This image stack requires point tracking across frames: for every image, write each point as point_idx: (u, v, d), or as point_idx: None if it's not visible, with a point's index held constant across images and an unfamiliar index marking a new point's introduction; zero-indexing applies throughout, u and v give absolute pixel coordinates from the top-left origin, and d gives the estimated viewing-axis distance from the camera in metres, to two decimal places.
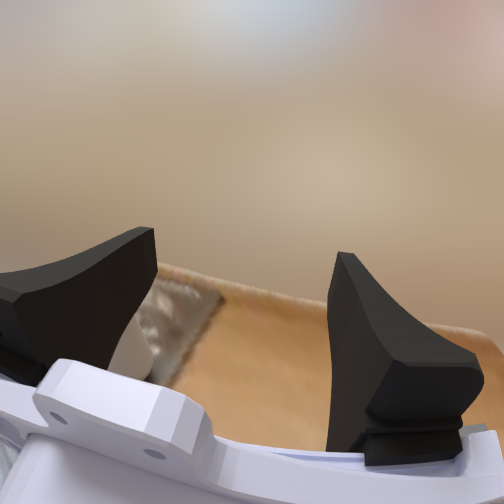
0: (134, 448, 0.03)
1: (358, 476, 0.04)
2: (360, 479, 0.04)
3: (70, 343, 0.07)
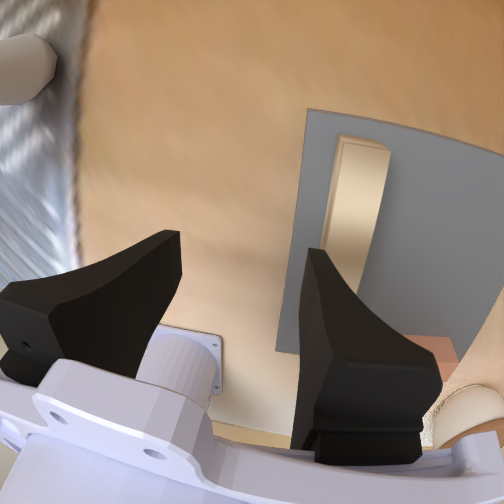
0: (134, 448, 0.03)
1: (358, 476, 0.04)
2: (360, 479, 0.04)
3: (102, 353, 0.07)
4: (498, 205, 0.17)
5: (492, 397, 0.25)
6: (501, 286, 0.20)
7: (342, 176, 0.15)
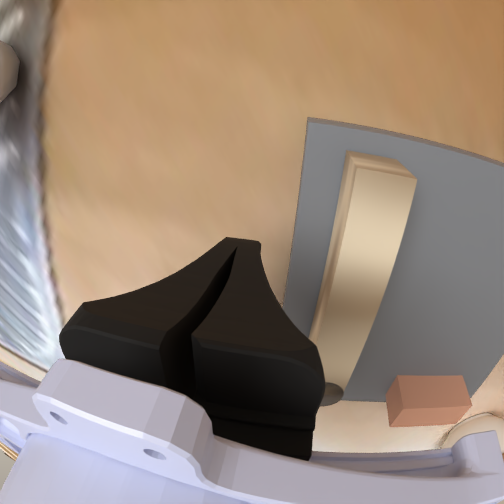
0: (134, 448, 0.03)
1: (358, 476, 0.04)
2: (360, 479, 0.04)
3: (190, 376, 0.07)
4: None
5: (501, 428, 0.21)
6: None
7: (353, 211, 0.12)
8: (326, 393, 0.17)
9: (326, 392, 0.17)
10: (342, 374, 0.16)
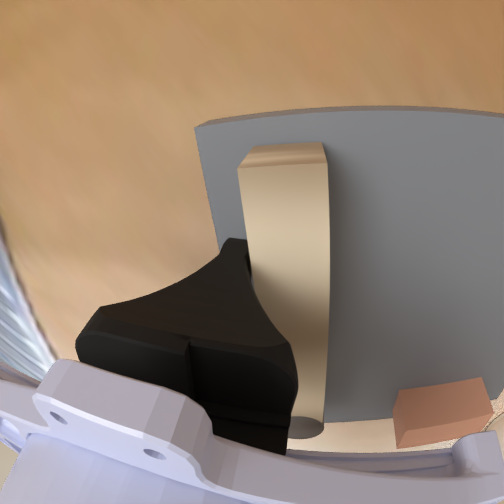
0: (134, 448, 0.03)
1: (358, 476, 0.04)
2: (360, 479, 0.04)
3: None
4: None
5: None
6: None
7: (252, 224, 0.09)
8: (303, 426, 0.14)
9: (302, 425, 0.14)
10: (312, 407, 0.13)
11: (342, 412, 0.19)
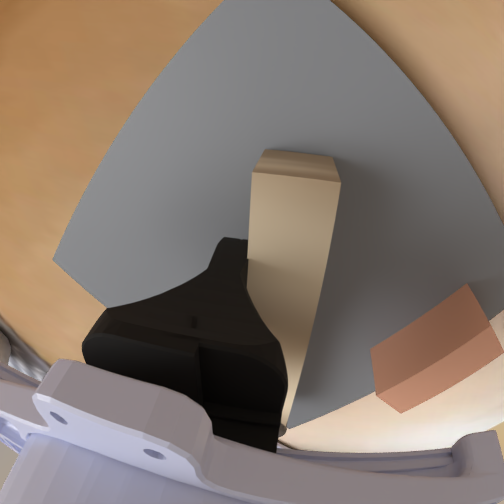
0: (134, 448, 0.03)
1: (358, 476, 0.04)
2: (360, 479, 0.04)
3: None
4: (268, 83, 0.10)
5: None
6: (456, 149, 0.10)
7: (255, 228, 0.09)
8: None
9: None
10: None
11: (342, 393, 0.18)
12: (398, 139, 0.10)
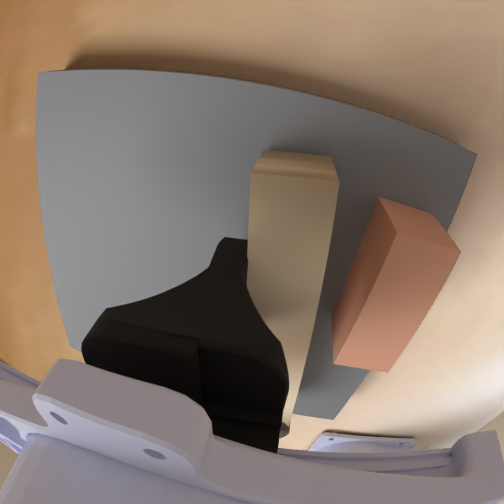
0: (134, 448, 0.03)
1: (358, 476, 0.04)
2: (360, 479, 0.04)
3: None
4: (86, 155, 0.12)
5: None
6: (242, 86, 0.10)
7: (255, 229, 0.09)
8: None
9: None
10: None
11: (347, 368, 0.16)
12: (187, 122, 0.11)
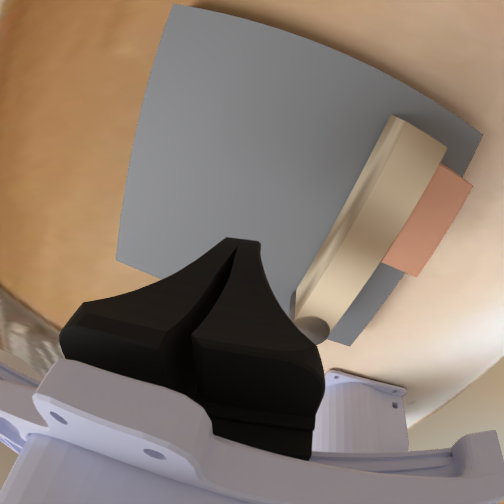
0: (134, 448, 0.03)
1: (358, 476, 0.04)
2: (360, 479, 0.04)
3: (190, 376, 0.07)
4: (206, 77, 0.15)
5: None
6: (345, 57, 0.14)
7: (395, 155, 0.13)
8: (313, 330, 0.19)
9: (314, 329, 0.19)
10: (335, 311, 0.18)
11: (373, 288, 0.21)
12: (301, 71, 0.15)
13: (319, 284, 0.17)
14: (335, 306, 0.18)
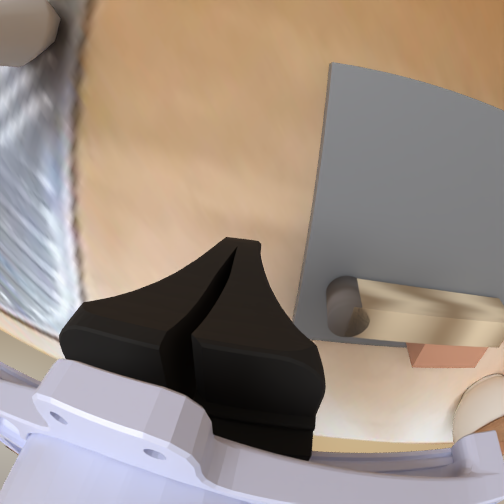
0: (134, 448, 0.03)
1: (358, 476, 0.04)
2: (360, 479, 0.04)
3: (190, 376, 0.07)
4: None
5: None
6: None
7: (498, 324, 0.17)
8: (350, 325, 0.19)
9: (352, 325, 0.19)
10: (377, 333, 0.19)
11: None
12: None
13: (406, 314, 0.18)
14: (383, 331, 0.19)
